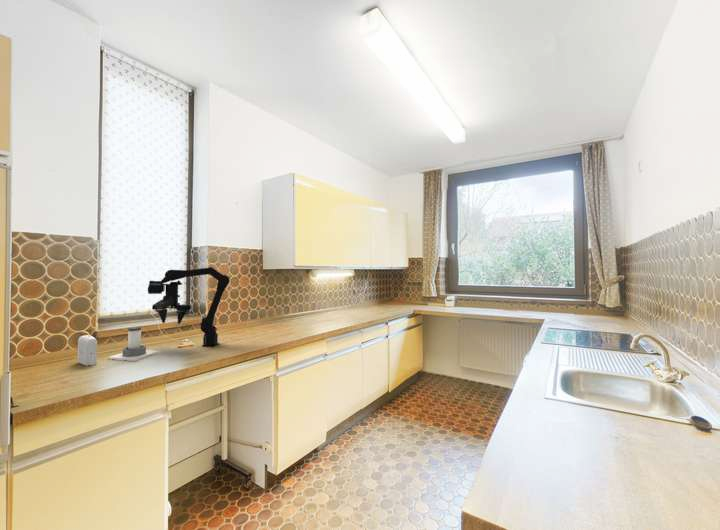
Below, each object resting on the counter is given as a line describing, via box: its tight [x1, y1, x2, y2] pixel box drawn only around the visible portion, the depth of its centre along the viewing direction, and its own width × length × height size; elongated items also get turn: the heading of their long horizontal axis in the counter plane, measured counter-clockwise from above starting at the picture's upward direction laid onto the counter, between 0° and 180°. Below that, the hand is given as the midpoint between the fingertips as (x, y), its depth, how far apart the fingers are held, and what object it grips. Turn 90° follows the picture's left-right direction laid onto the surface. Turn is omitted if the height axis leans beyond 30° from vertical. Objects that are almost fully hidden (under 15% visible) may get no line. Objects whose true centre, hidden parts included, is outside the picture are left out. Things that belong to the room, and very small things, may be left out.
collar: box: [107, 344, 160, 362], centre depth 152 cm, size 14×14×4 cm
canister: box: [127, 326, 142, 350], centre depth 152 cm, size 5×5×12 cm
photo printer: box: [77, 334, 98, 367], centre depth 140 cm, size 10×4×12 cm, turn 60°
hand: (171, 323), depth 166 cm, fingers open, 9 cm apart
